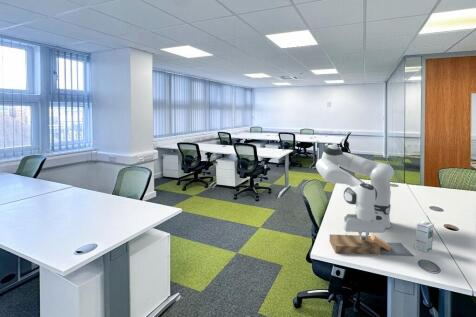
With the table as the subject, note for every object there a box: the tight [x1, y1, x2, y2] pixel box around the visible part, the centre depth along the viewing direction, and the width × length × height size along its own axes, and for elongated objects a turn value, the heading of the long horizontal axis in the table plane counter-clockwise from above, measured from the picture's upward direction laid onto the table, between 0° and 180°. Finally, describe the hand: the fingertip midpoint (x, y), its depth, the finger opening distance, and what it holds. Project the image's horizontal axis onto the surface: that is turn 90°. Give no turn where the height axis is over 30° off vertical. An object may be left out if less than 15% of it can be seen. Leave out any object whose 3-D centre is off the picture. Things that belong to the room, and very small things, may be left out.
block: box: [370, 234, 391, 251], centre depth 151 cm, size 9×6×2 cm
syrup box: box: [414, 220, 435, 253], centre depth 150 cm, size 6×6×14 cm
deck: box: [329, 233, 381, 256], centre depth 153 cm, size 22×14×4 cm, turn 85°
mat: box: [379, 242, 415, 257], centre depth 151 cm, size 16×14×1 cm
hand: (363, 239), depth 152 cm, fingers closed
